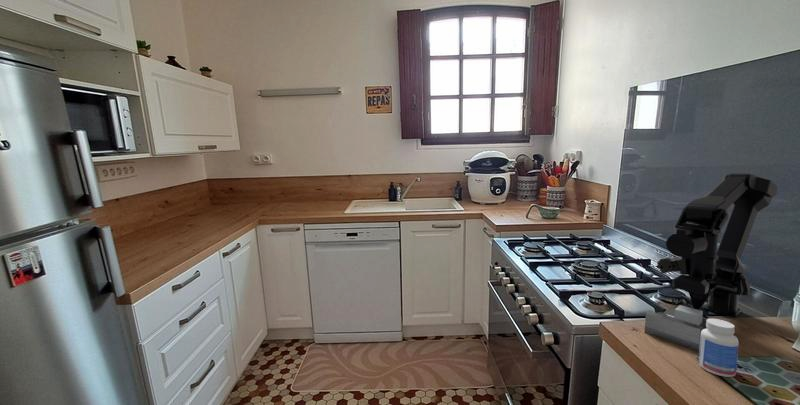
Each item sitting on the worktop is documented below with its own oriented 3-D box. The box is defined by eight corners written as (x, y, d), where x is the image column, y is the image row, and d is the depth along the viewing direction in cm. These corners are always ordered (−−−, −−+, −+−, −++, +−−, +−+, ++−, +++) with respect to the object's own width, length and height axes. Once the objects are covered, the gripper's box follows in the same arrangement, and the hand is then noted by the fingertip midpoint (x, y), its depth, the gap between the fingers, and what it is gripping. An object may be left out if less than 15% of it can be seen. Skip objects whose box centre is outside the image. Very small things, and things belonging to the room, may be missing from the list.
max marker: (658, 316, 83) (658, 311, 83) (666, 318, 82) (666, 314, 82) (657, 317, 83) (657, 312, 83) (664, 319, 82) (665, 314, 81)
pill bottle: (744, 379, 61) (748, 331, 60) (710, 376, 62) (715, 328, 61) (721, 362, 67) (725, 317, 66) (691, 359, 68) (695, 315, 67)
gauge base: (668, 313, 89) (670, 295, 88) (718, 327, 80) (720, 308, 80) (644, 332, 79) (645, 312, 78) (698, 350, 71) (700, 329, 70)
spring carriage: (665, 312, 86) (666, 301, 85) (701, 322, 80) (702, 311, 79) (659, 316, 83) (660, 305, 83) (696, 327, 77) (697, 315, 77)
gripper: (674, 240, 94) (670, 291, 96) (649, 251, 84) (645, 308, 85) (727, 248, 85) (722, 304, 87) (707, 260, 74) (701, 324, 76)
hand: (696, 309), depth 84 cm, fingers closed
